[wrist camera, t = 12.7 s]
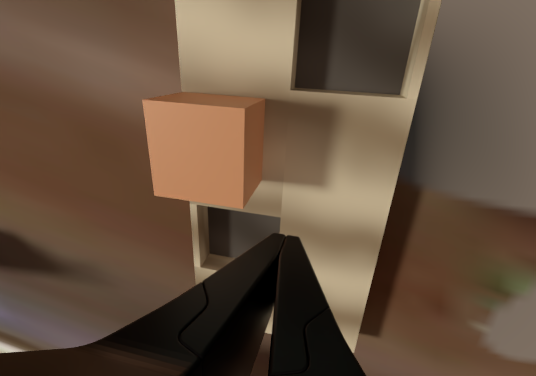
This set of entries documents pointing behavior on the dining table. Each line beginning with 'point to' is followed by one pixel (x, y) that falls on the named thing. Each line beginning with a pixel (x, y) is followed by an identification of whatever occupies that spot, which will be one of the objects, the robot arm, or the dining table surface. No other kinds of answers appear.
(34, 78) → the dining table surface
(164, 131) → the orange block
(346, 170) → the trap board
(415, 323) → the dining table surface
